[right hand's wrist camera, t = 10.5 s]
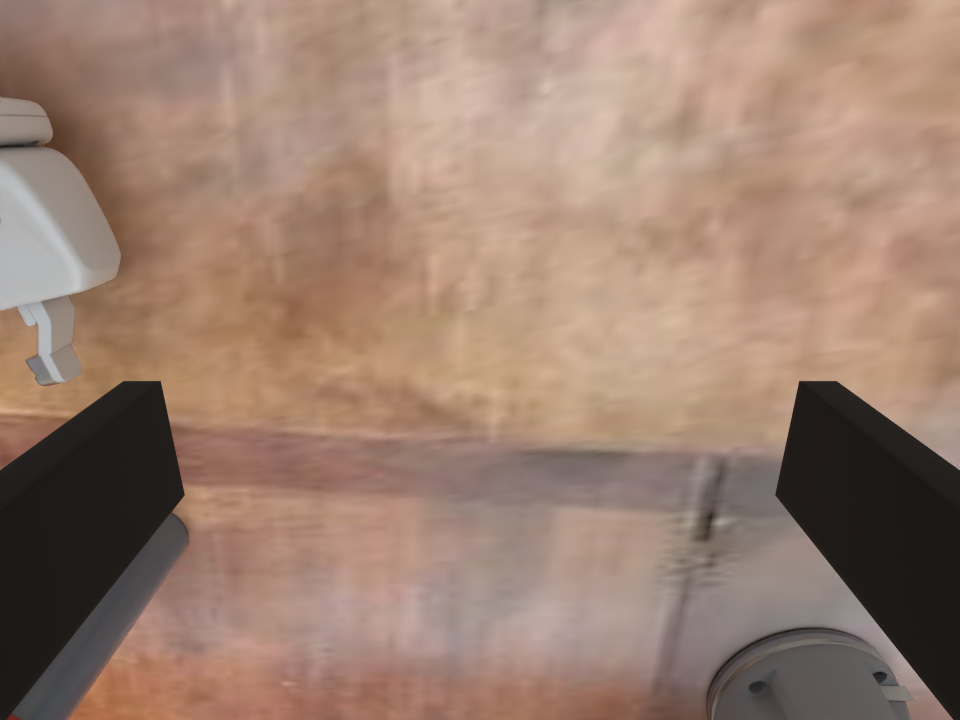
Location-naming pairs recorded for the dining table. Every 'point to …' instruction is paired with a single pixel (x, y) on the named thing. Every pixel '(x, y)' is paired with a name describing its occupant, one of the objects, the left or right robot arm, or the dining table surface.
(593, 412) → the dining table surface
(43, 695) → the bottle
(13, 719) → the lid
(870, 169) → the dining table surface
